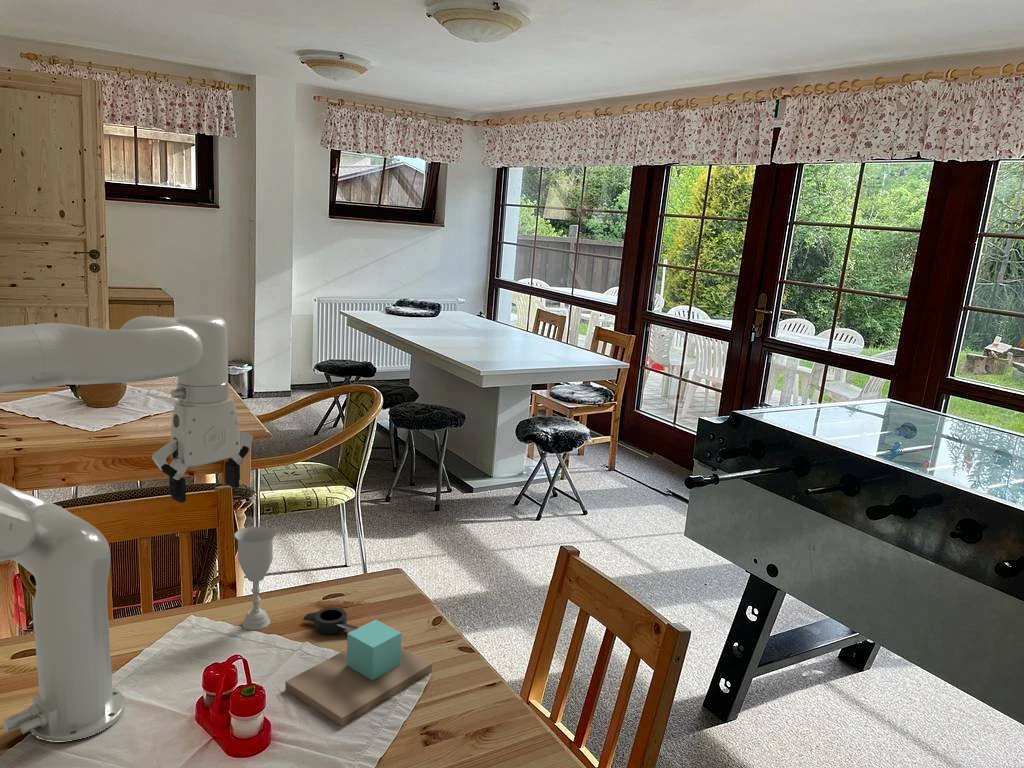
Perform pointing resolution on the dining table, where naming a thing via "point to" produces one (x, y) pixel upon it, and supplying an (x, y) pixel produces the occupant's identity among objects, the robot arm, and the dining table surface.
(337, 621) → the dark grey ring piece
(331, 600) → the dining table surface
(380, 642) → the turquoise rounded cube
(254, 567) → the chalice
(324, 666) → the stub board
